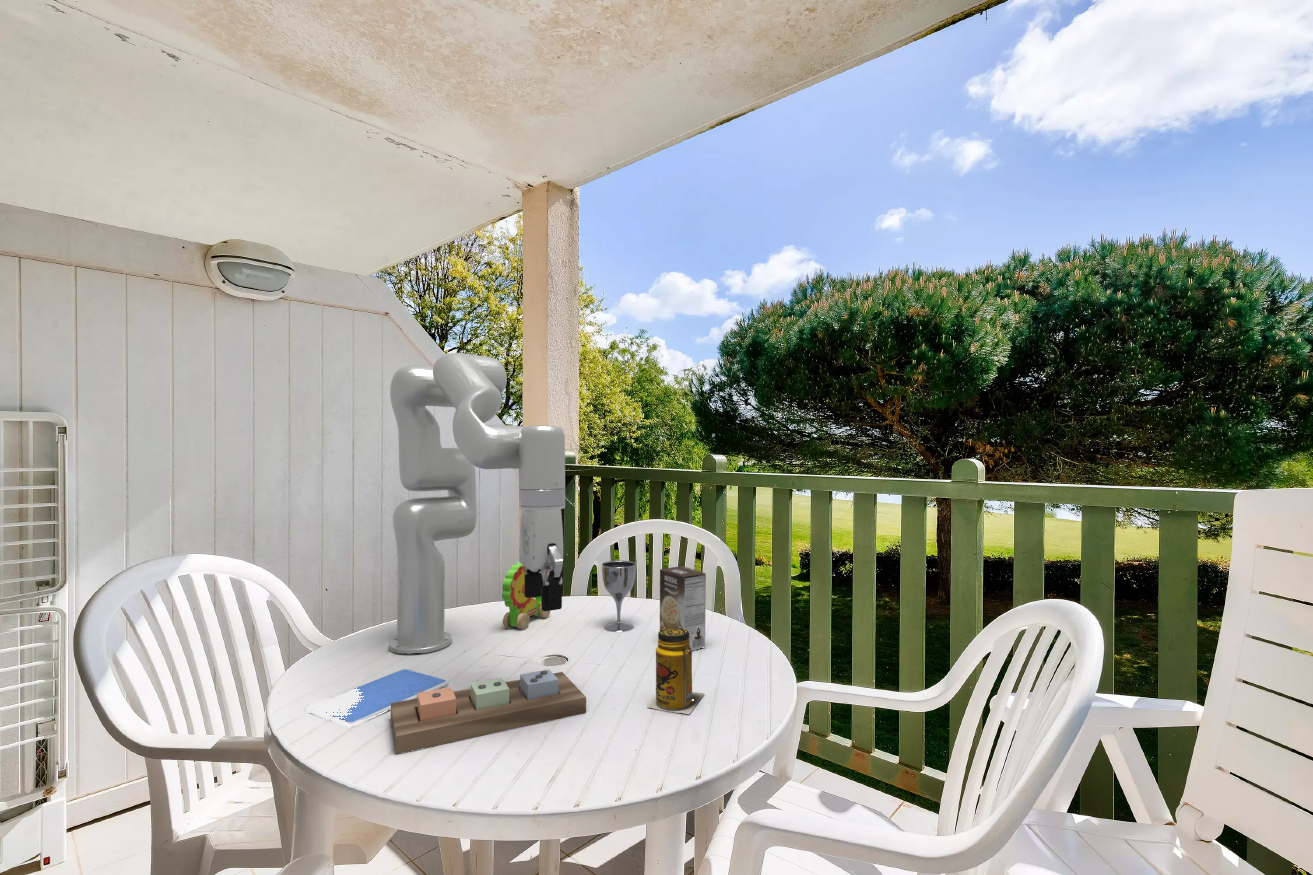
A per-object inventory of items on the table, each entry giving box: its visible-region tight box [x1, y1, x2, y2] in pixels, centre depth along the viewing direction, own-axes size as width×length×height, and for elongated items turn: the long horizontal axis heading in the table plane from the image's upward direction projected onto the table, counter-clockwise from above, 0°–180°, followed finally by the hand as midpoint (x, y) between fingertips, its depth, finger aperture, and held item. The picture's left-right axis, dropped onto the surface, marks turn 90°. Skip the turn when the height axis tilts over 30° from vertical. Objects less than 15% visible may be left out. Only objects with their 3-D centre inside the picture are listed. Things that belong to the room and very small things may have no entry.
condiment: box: [647, 627, 705, 715], centre depth 99 cm, size 7×8×12 cm
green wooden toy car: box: [501, 561, 551, 630], centre depth 143 cm, size 16×6×15 cm, turn 159°
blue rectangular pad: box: [326, 668, 449, 724], centre depth 101 cm, size 19×13×1 cm, turn 151°
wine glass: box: [601, 560, 637, 633], centre depth 140 cm, size 8×8×15 cm
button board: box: [390, 671, 587, 755], centre depth 94 cm, size 12×28×2 cm, turn 118°
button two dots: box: [470, 677, 509, 710], centre depth 94 cm, size 5×5×3 cm
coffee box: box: [659, 565, 707, 651], centre depth 127 cm, size 9×6×16 cm
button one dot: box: [417, 686, 456, 722], centre depth 90 cm, size 5×5×3 cm
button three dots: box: [519, 669, 558, 700], centre depth 97 cm, size 5×5×3 cm
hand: (542, 602), depth 98 cm, fingers open, 9 cm apart
